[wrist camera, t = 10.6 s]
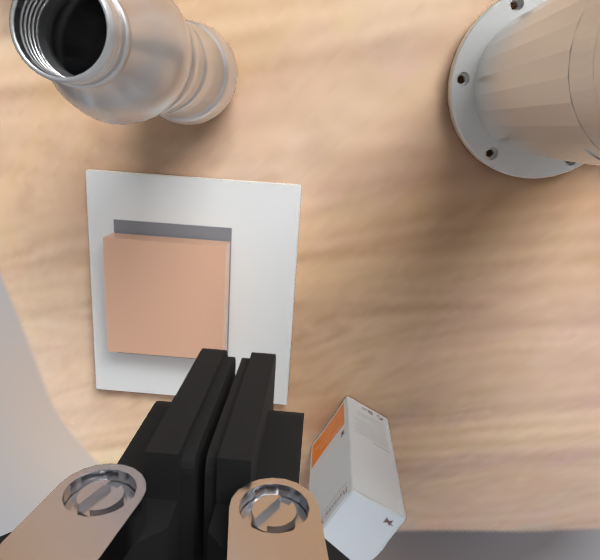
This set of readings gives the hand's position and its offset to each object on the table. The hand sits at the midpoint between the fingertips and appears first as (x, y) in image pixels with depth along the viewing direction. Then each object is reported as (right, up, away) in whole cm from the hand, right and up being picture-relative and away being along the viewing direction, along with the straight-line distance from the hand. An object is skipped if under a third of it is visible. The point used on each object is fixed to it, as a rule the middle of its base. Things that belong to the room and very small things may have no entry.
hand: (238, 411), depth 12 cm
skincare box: (+6, -10, +33) cm, 35 cm away
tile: (-4, +1, +28) cm, 28 cm away
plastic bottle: (-6, +17, +26) cm, 32 cm away
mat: (-7, +2, +30) cm, 31 cm away
